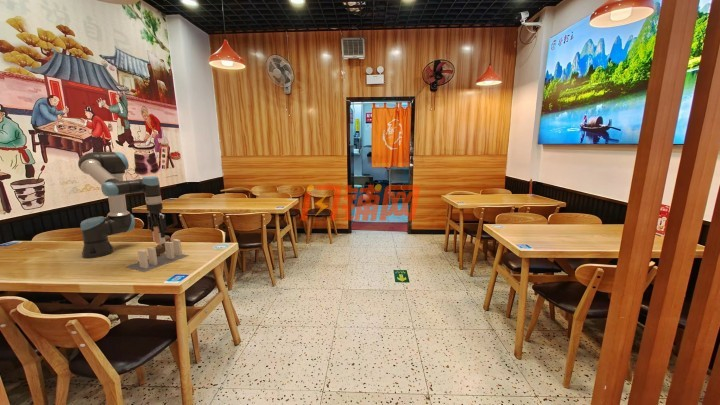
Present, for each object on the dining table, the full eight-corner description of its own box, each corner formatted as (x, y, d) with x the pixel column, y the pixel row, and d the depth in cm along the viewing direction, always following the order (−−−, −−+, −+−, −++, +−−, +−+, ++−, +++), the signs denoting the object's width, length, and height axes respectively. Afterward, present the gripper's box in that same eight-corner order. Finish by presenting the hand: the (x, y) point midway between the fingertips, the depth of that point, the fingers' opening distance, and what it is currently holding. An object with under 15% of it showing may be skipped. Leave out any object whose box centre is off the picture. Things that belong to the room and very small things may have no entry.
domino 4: (171, 259, 175) (169, 243, 173) (166, 257, 177) (164, 242, 175) (174, 258, 177) (172, 242, 175) (169, 257, 179) (166, 241, 177)
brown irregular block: (157, 261, 180) (161, 247, 177) (145, 255, 180) (148, 241, 178) (179, 250, 197) (183, 237, 194) (168, 244, 198) (171, 231, 195)
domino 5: (179, 256, 180) (177, 240, 178) (174, 255, 182) (172, 239, 180) (182, 255, 181) (180, 240, 179) (176, 254, 183) (174, 239, 181)
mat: (124, 268, 164) (124, 267, 164) (170, 252, 188) (170, 251, 188) (144, 273, 157) (144, 272, 157) (189, 256, 181) (189, 255, 181)
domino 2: (154, 265, 166) (152, 248, 164) (149, 263, 168) (146, 247, 166) (157, 264, 168) (155, 247, 166) (152, 262, 170) (149, 246, 168)
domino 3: (158, 242, 172) (156, 226, 170) (163, 243, 170) (161, 227, 168) (155, 243, 170) (153, 226, 169) (161, 244, 168) (158, 227, 167)
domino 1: (145, 268, 162) (143, 251, 160) (140, 267, 164) (137, 250, 162) (148, 267, 163) (146, 250, 161) (143, 266, 165) (140, 249, 163)
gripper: (137, 203, 166) (143, 242, 170) (157, 205, 159) (163, 246, 163) (150, 201, 173) (156, 238, 177) (170, 203, 166) (176, 242, 170)
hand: (159, 242), depth 170 cm, fingers closed on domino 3, 5 cm apart
